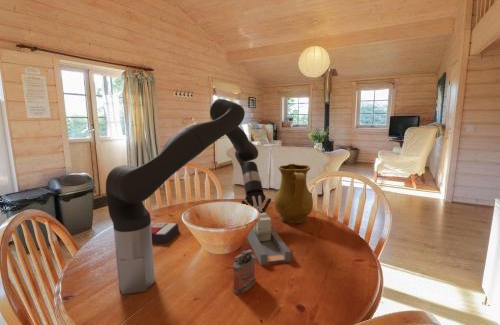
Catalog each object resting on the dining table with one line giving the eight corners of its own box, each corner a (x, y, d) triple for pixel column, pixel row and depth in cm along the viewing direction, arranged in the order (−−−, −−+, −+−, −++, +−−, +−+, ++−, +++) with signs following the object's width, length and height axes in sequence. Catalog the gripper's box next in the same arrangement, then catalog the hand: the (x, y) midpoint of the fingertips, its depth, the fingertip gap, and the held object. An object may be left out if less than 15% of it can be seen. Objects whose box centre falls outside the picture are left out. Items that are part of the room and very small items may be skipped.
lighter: (249, 277, 78) (248, 244, 77) (258, 281, 76) (258, 248, 75) (229, 290, 72) (229, 256, 71) (239, 296, 70) (238, 260, 68)
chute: (290, 261, 87) (291, 251, 86) (260, 265, 84) (260, 255, 84) (266, 227, 113) (266, 219, 113) (243, 229, 111) (243, 221, 111)
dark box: (144, 221, 112) (178, 221, 109) (145, 231, 113) (179, 231, 110) (128, 232, 101) (165, 233, 99) (129, 243, 102) (166, 244, 99)
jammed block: (271, 240, 99) (271, 219, 97) (257, 241, 98) (257, 220, 96) (265, 232, 105) (265, 212, 104) (253, 233, 104) (253, 213, 103)
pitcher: (316, 213, 127) (316, 162, 122) (307, 230, 111) (306, 171, 106) (281, 209, 135) (280, 160, 130) (268, 225, 118) (266, 169, 113)
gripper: (265, 187, 120) (274, 224, 110) (236, 189, 117) (242, 227, 107) (269, 178, 114) (278, 216, 104) (238, 180, 111) (245, 219, 101)
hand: (260, 222), depth 106 cm, fingers closed
